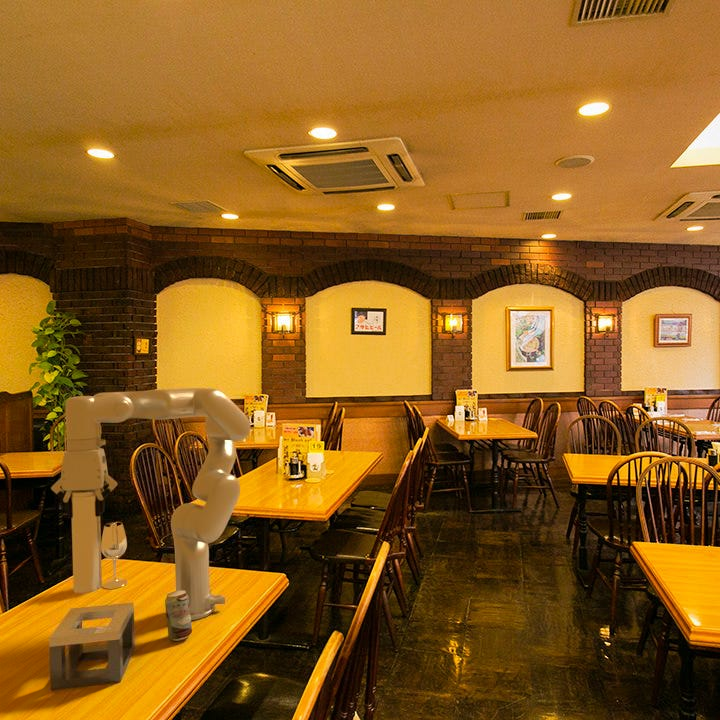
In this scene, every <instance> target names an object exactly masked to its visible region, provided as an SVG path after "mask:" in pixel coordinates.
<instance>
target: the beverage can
mask: <svg viewBox="0 0 720 720" xmlns="http://www.w3.org/2000/svg"><path fill="white" fill-rule="evenodd" d="M164 604H165V615H166V625H167V637H168V639H170V640H172V641H174V642H176V641H177V642H178V641H183V640H185V639H187V638H188V637H189V636H190V635H191V634H192V632H193V627H192V620H191V615H190V606H189V596H188V594H187V593H186V591H185V590H179V591H176V590H175V591H172V592H169V593H167V594H166V598H165V600H164Z"/></svg>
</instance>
